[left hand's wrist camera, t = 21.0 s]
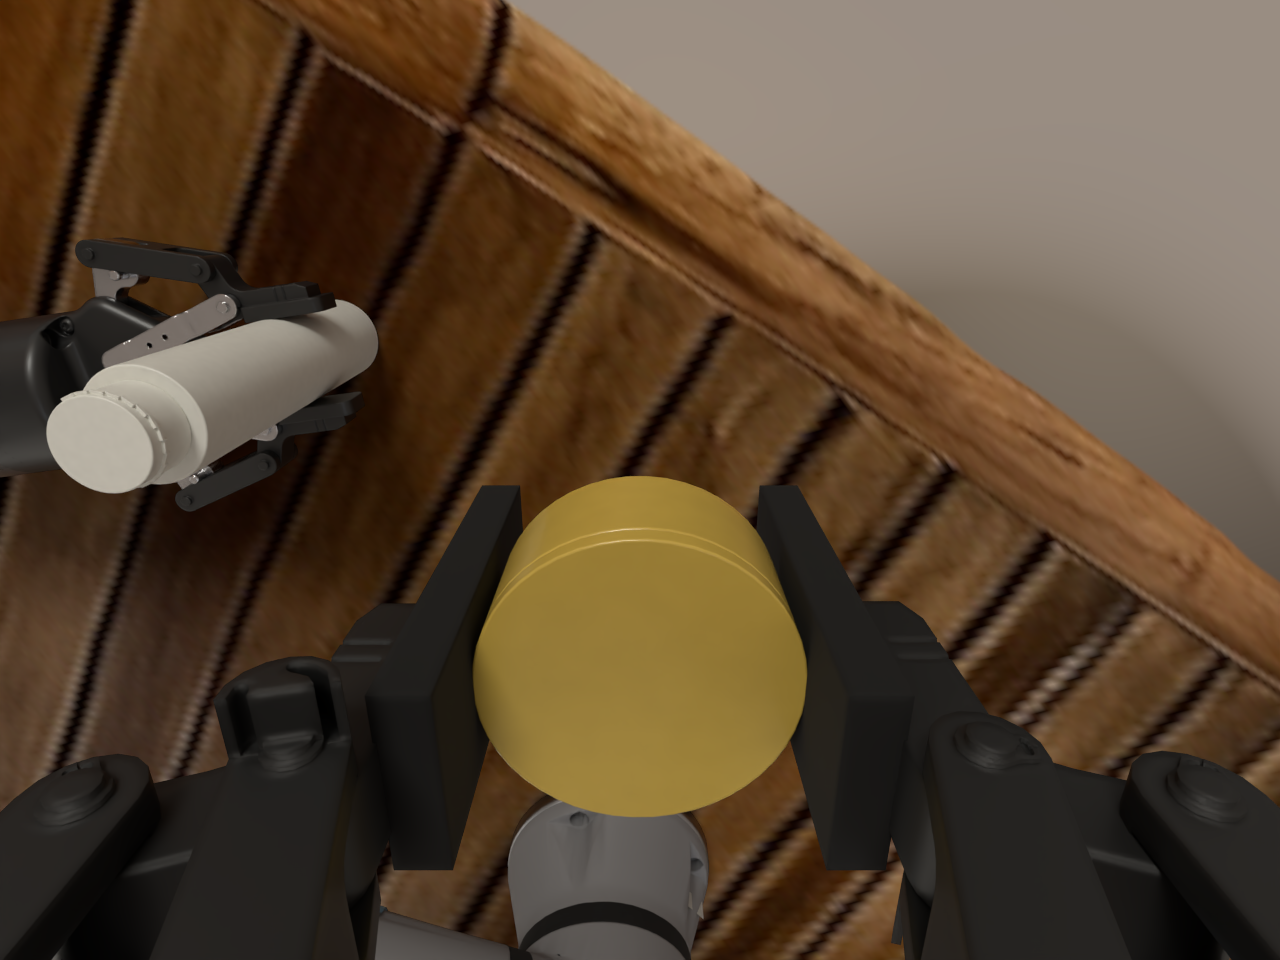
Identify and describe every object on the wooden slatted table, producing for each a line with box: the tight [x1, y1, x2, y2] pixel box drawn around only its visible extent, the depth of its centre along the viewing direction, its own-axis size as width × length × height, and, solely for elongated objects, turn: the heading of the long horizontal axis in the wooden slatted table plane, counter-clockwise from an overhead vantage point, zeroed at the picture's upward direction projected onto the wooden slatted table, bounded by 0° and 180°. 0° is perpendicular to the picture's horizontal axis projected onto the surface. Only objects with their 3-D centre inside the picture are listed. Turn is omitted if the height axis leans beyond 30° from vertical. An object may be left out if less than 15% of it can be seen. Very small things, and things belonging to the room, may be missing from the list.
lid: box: [472, 476, 807, 817], centre depth 11 cm, size 5×5×2 cm
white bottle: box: [46, 300, 378, 493], centre depth 32 cm, size 4×4×20 cm
